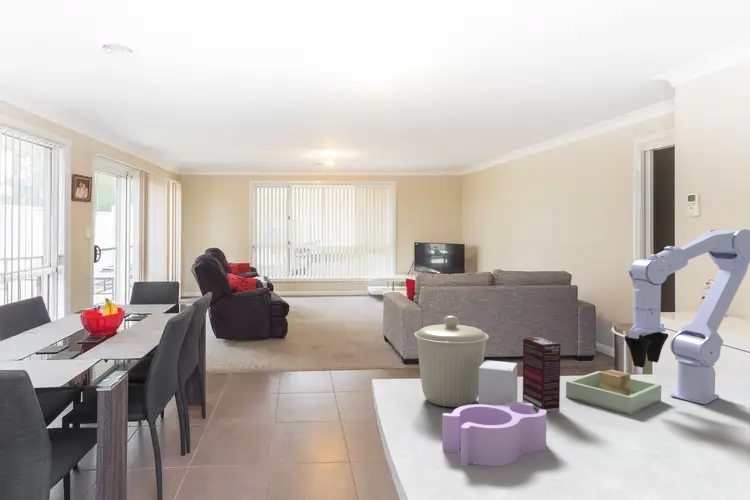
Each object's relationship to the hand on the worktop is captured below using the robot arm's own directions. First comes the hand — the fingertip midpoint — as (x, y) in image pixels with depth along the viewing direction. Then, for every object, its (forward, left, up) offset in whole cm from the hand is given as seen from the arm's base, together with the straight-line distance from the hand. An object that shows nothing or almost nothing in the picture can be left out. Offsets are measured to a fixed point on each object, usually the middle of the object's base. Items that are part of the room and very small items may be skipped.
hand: (646, 364), depth 123 cm
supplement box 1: (+39, -14, -10) cm, 43 cm away
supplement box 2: (+23, -14, -10) cm, 29 cm away
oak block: (+4, -6, -9) cm, 11 cm away
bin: (+4, -6, -9) cm, 12 cm away
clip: (+50, -6, -10) cm, 51 cm away
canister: (+37, -30, -10) cm, 49 cm away
